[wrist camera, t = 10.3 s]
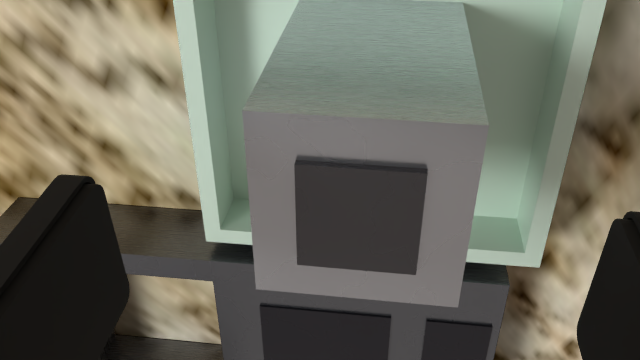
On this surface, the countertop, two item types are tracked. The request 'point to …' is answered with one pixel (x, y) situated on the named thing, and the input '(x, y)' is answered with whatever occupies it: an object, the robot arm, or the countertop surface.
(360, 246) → the block
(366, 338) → the grey slotted block
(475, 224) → the parts tray
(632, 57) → the countertop surface
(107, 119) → the countertop surface
